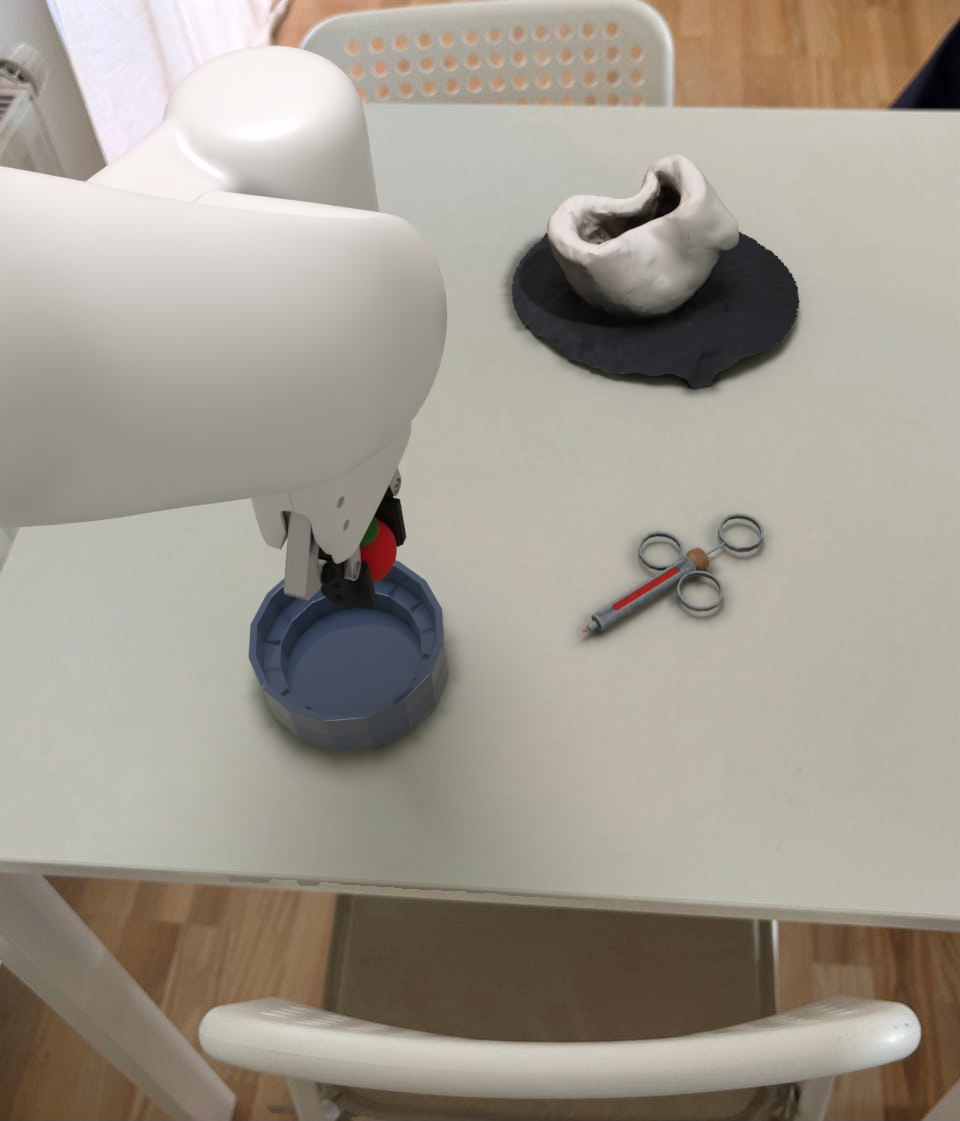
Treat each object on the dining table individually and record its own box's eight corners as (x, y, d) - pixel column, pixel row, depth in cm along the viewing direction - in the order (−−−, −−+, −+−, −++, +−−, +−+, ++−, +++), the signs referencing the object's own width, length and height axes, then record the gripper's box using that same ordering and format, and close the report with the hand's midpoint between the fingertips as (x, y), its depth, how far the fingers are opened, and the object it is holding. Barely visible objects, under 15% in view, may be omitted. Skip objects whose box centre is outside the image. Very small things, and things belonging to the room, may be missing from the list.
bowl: (409, 776, 73) (402, 744, 69) (233, 724, 76) (216, 689, 72) (472, 617, 80) (469, 578, 76) (309, 574, 83) (297, 534, 78)
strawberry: (385, 605, 63) (376, 564, 60) (321, 588, 64) (309, 546, 60) (410, 551, 65) (402, 507, 62) (347, 534, 66) (337, 491, 63)
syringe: (532, 611, 80) (532, 599, 78) (721, 496, 85) (724, 482, 84) (597, 688, 76) (598, 676, 75) (791, 563, 81) (795, 549, 80)
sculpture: (805, 401, 92) (850, 283, 82) (507, 388, 92) (513, 268, 82) (775, 227, 105) (811, 105, 95) (514, 216, 105) (520, 93, 95)
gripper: (311, 208, 55) (360, 449, 70) (149, 456, 46) (246, 671, 61) (454, 235, 53) (472, 476, 68) (314, 498, 44) (371, 707, 59)
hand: (365, 566), depth 64 cm, fingers closed on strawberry, 3 cm apart
